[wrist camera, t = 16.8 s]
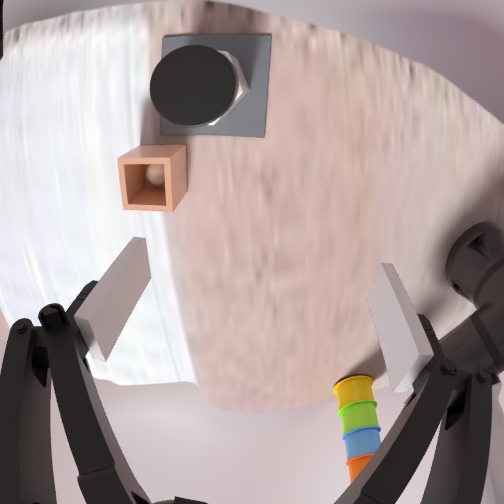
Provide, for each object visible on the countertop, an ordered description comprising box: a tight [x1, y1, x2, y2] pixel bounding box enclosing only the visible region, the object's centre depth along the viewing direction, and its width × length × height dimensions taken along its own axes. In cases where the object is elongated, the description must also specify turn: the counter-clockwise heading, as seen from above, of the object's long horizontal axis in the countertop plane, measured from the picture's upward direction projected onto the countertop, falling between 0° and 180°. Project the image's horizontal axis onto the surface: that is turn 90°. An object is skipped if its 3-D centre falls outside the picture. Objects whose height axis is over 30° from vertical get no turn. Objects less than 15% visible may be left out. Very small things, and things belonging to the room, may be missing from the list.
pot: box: [118, 145, 187, 212], centre depth 37 cm, size 7×7×7 cm
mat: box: [161, 34, 271, 138], centre depth 33 cm, size 14×14×1 cm
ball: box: [147, 164, 165, 185], centre depth 38 cm, size 3×3×3 cm
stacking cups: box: [334, 375, 381, 483], centre depth 51 cm, size 10×10×35 cm
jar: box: [150, 45, 249, 128], centre depth 28 cm, size 9×8×12 cm
